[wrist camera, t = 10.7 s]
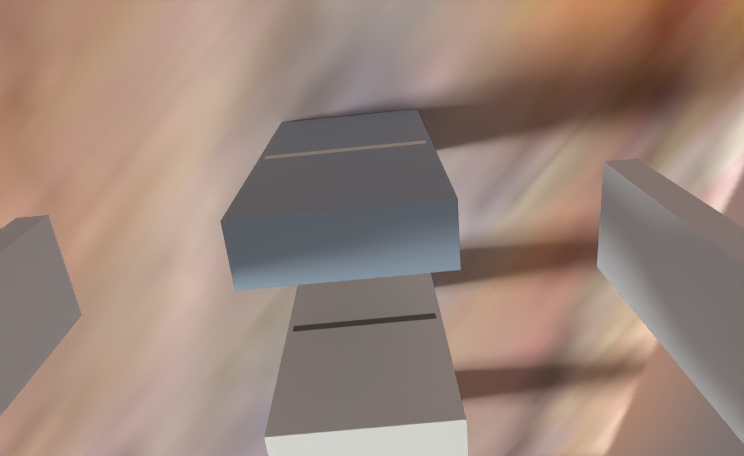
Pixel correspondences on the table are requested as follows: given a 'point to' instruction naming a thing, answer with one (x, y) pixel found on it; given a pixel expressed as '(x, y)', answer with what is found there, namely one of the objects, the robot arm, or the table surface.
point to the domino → (367, 373)
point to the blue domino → (343, 204)
